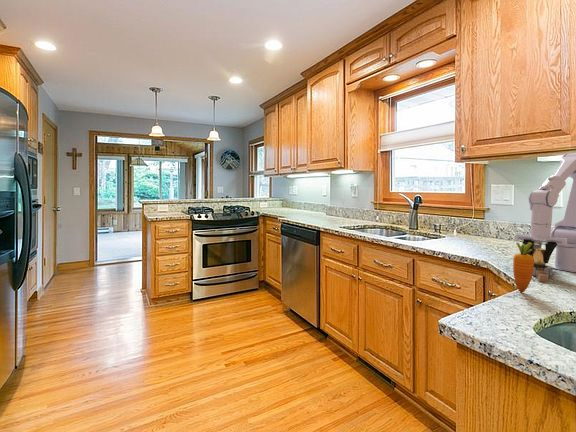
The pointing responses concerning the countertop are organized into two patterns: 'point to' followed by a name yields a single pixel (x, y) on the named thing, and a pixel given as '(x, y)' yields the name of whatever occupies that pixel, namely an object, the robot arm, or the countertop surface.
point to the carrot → (523, 267)
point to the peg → (538, 257)
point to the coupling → (542, 273)
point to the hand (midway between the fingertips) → (538, 261)
